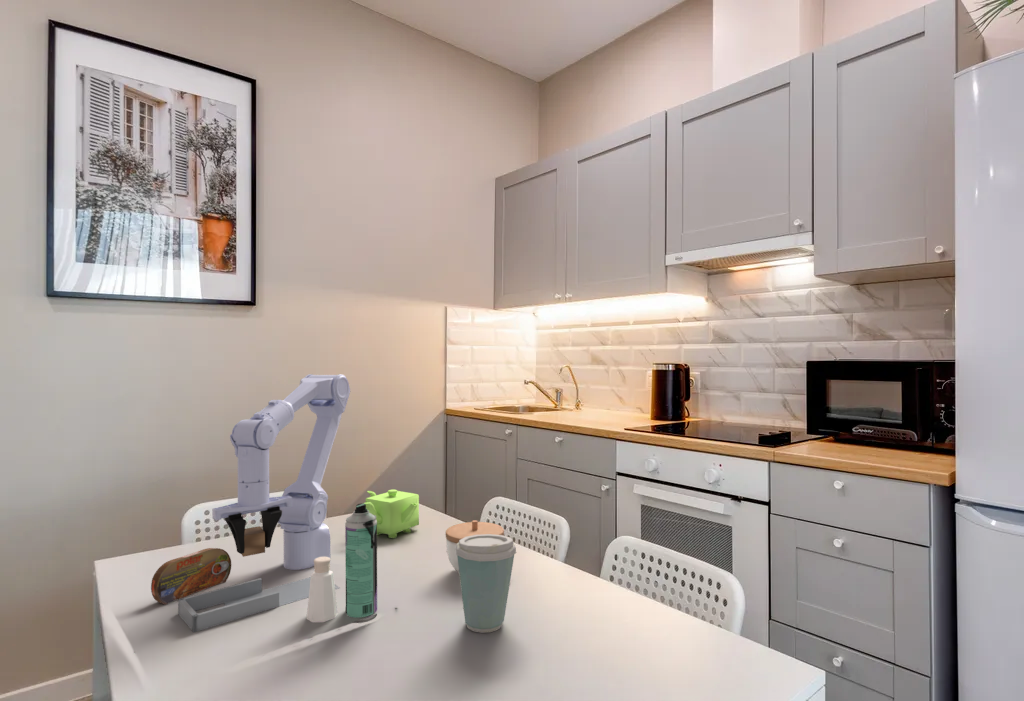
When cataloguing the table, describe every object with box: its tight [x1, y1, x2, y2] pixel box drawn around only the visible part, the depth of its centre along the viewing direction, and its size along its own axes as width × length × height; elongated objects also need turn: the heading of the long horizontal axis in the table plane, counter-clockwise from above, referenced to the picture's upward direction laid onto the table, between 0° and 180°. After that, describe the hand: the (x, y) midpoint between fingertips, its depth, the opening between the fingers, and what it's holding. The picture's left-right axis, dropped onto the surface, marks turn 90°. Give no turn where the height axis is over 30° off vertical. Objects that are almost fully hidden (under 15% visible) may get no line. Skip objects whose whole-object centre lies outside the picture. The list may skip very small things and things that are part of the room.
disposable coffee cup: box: [455, 534, 517, 633], centre depth 99 cm, size 11×11×15 cm
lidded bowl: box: [445, 519, 505, 576], centre depth 123 cm, size 13×13×11 cm
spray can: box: [344, 502, 378, 624], centre depth 103 cm, size 6×6×20 cm
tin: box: [150, 547, 232, 606], centre depth 112 cm, size 15×3×8 cm, turn 151°
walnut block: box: [241, 525, 266, 558], centre depth 114 cm, size 4×5×4 cm
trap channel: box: [177, 576, 341, 633], centre depth 107 cm, size 26×10×4 cm, turn 133°
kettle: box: [364, 489, 420, 539], centre depth 152 cm, size 15×14×11 cm
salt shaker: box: [306, 557, 339, 623], centre depth 101 cm, size 5×5×11 cm
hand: (253, 549), depth 113 cm, fingers closed on walnut block, 4 cm apart
